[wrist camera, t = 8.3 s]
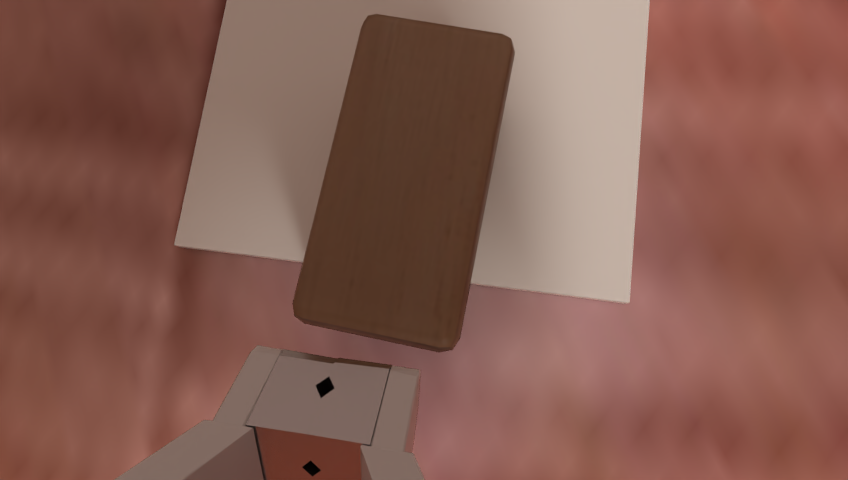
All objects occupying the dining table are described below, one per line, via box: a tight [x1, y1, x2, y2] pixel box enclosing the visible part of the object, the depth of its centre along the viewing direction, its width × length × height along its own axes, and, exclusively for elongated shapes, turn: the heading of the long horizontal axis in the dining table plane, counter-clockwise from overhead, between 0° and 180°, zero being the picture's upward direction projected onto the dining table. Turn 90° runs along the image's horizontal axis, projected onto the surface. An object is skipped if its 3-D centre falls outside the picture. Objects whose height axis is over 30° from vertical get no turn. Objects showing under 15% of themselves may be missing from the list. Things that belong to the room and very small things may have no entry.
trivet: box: [174, 0, 650, 304], centre depth 17 cm, size 12×14×1 cm
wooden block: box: [293, 14, 515, 352], centre depth 15 cm, size 4×4×8 cm
